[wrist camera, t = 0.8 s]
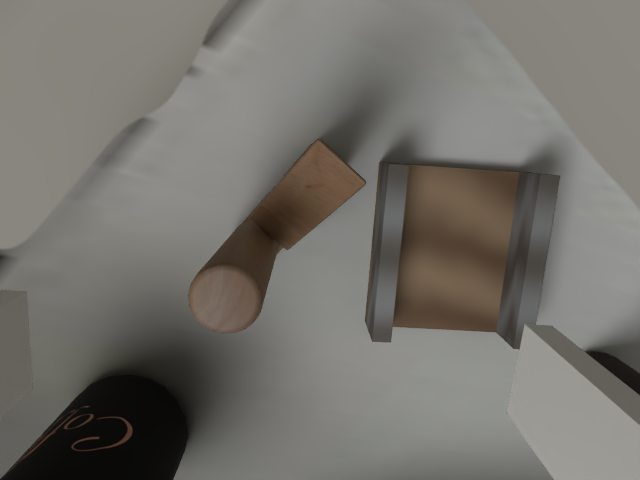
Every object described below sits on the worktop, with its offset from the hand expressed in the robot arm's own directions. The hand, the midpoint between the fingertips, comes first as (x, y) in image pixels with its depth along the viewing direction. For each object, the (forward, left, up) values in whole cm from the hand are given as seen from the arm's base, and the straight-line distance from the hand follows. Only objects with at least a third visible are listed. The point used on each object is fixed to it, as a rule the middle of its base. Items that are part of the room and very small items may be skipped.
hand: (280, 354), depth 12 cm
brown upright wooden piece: (+1, +1, -28) cm, 28 cm away
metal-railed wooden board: (-2, -13, -28) cm, 31 cm away
